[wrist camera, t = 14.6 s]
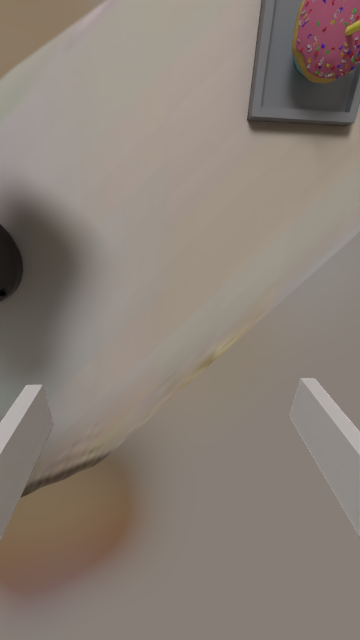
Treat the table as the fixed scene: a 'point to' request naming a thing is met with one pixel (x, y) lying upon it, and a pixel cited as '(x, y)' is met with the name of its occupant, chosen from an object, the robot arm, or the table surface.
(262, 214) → the table surface
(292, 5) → the tray
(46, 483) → the table surface
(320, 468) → the robot arm
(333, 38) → the cupcake
